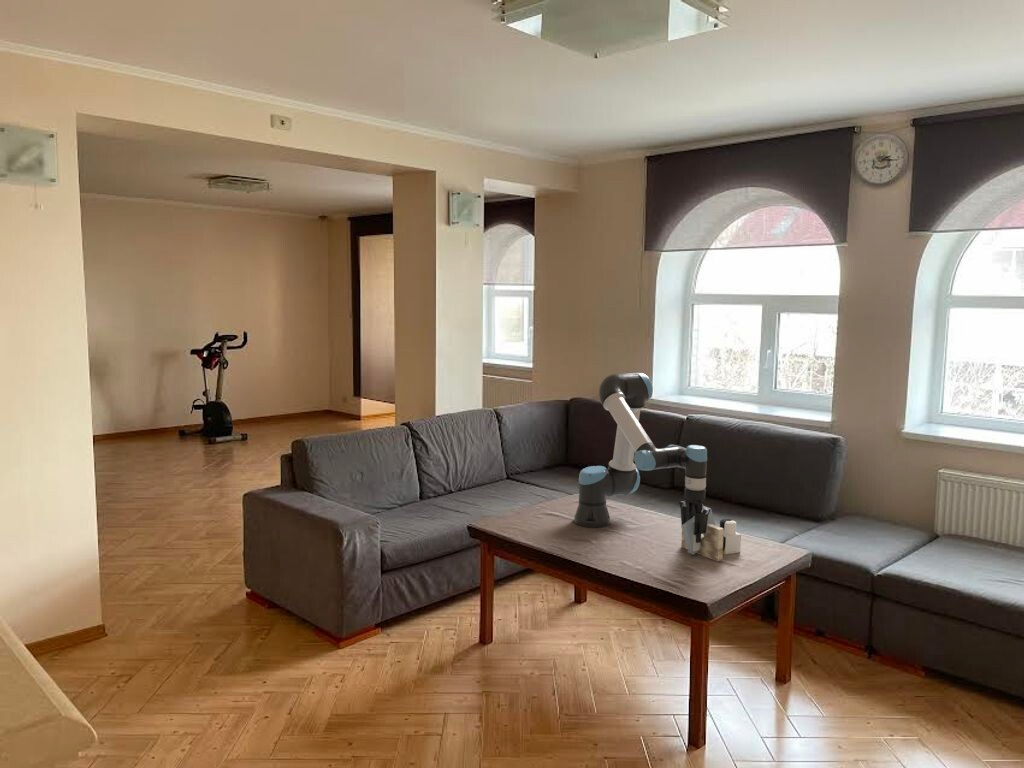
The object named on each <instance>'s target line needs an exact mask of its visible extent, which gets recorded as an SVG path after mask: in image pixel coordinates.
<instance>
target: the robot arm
mask: <svg viewBox="0 0 1024 768" xmlns="http://www.w3.org/2000/svg"><path fill="white" fill-rule="evenodd" d="M653 390H654V387H653V383H652V381H651V379H650V378H649V376H648V375H646V374H645V373H643V372H628V373H627V372H626V373H612V374H610V375H607V376H606V377H604V378H603V379H602V381H601V382H600V384H599V387H598V398H599V399H598V400H599V402H600V404H601V405H602V407H603V408H604V410H606V411H609V413H610V415H611V417H612V418H613V420H614V421H615V423H616V424H617V427H616V434H615V440H614V447H613V448H614V449H613V455H612V456H613V457H612V459H611V460H610V461H609V462H608V467H607V468H606V466H603V465H596V466H595V465H593V466H592V465H591V466H587V467H585V468H582V469H581V470H580V472H579V477H578V505H577V508H576V512H575V514H574V517H573V522H574V524H576V525H578V526H580V527H586V528H603V527H607V526H609V525H610V524H611V516H610V513H609V510H608V506H607V497H615V496H623V495H624V496H626V495H630V494H633V493H635V492H636V491H637V490H638V489H639V486H640V484H641V483H640V482H641V476H640V472H639V471H653V470H661V469H670V468H681V469H684V470H685V474H684V475H685V476H684V487H685V488H684V498H685V499H684V500H683V501H681V500H680V501H679V502H678V504H679V506H680V519H681V521H680V522H681V526H682V525H683V524H684V523H686V522H687V521H688V520H690V519H691V518H692V517H694V521H695V533H694V534H693V551H698V550H699V546H700V542H701V536H702V535H703V534H704V533H706V528H707V521H708V515H709V513H710V509H707V508H706V507H707V506H705V505H706V503H705V499H706V493H707V492H706V487H707V469H708V468H707V467H708V466H707V465H708V449H707V447H706V446H703V445H698V444H690V445H687V446H686V447H683V446H680V445H679V444H669V445H667V446H665V447H661V448H657V447H656V445H655V444H654V442H653V441H652V440H651V438H650V437H649V435H648V434H647V433H646V431H645V429H644V428H643V426H642V424H641V423H640V422H639V421H640V415H641V410H642V409H644V408H645V405H646V401H649V400H650V399H651V398H652V396H653V393H654V391H653ZM634 462H635V463H634ZM686 548H687V546H686Z"/></svg>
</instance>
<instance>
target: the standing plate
mask: <svg viewBox="0 0 1024 768" xmlns="http://www.w3.org/2000/svg"><path fill="white" fill-rule="evenodd" d="M723 531H724V528H721V527H720V526H718V525H716V524H715V525H712V524H707V528H706V533H704V535H703V536H702V535H701V542H700V543H701V547H702V548H701V549H700V550H699V551H697V552H696V553H695V554H699V555H700V556H703V557H706V558H709V559H711V560H713V561H715V562H720V561H723ZM680 545H681V546H680V547H681V548H682V549H686V550H688V549H687V548H686V542H685V538H684V535H683V531H682V530H681V544H680Z"/></svg>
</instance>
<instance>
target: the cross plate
mask: <svg viewBox="0 0 1024 768" xmlns="http://www.w3.org/2000/svg"><path fill="white" fill-rule="evenodd" d="M705 507H706V508H707V509H710V513H709V515H708V521H707V524H712V525H715V526H716V522H715V519H714V515H713V511H712V508H711V507H708V506H705ZM682 531H683V535H684V538H685V542H686V546H687V549H686V550H687V553H689V554H691V555H695V554H697V553H696V552H697V551H693V534H694V533H695V521H694V517H692V518H691V519H690V520H688V521H687V522H686V523H684V524H683V525H681V532H682ZM702 535H703V536H704V534H702ZM701 548H702V547H701V543H700V546H699V550H700V549H701ZM699 550H698V551H699Z"/></svg>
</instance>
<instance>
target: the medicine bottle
mask: <svg viewBox="0 0 1024 768" xmlns="http://www.w3.org/2000/svg"><path fill="white" fill-rule="evenodd" d="M719 527H721V528H724V531H723V553H722V555H731V554H732V555H733V554H738V553H741V549H742V548H741V547H742V546H741V545H742V544H741V543H742V535H741V534H740V533H739V532H737V521H736V520H735V519H732V518H722V519H721V520H719Z"/></svg>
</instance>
